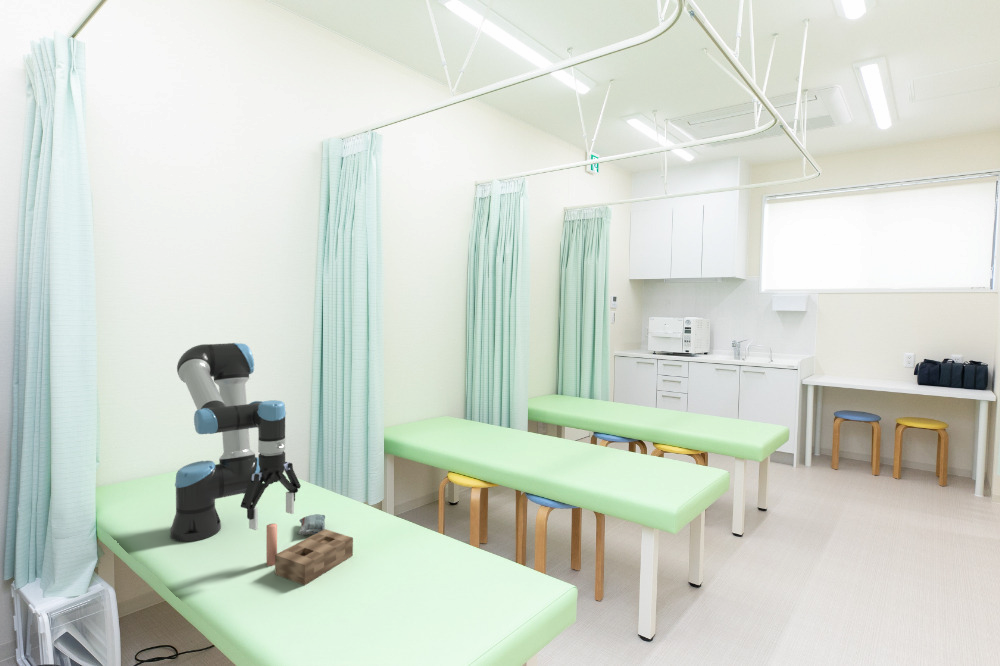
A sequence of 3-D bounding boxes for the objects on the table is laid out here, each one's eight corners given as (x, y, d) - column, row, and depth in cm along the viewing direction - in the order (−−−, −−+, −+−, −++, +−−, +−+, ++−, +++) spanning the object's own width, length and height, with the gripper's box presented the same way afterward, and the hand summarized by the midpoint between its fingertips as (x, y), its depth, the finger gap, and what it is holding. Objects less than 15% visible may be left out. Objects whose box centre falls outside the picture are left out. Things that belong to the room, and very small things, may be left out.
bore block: (275, 574, 161) (275, 554, 160) (324, 546, 179) (324, 529, 178) (304, 585, 156) (304, 565, 155) (352, 555, 174) (352, 537, 173)
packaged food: (298, 539, 183) (298, 525, 183) (299, 525, 195) (299, 511, 194) (325, 537, 186) (325, 523, 186) (325, 523, 197) (325, 509, 197)
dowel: (264, 564, 166) (264, 526, 166) (272, 559, 169) (272, 522, 168) (271, 566, 165) (271, 528, 164) (279, 562, 168) (279, 524, 167)
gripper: (244, 465, 152) (245, 539, 153) (312, 444, 174) (312, 508, 175) (226, 461, 155) (227, 533, 156) (295, 441, 177) (295, 504, 179)
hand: (272, 520), depth 166 cm, fingers open, 13 cm apart
